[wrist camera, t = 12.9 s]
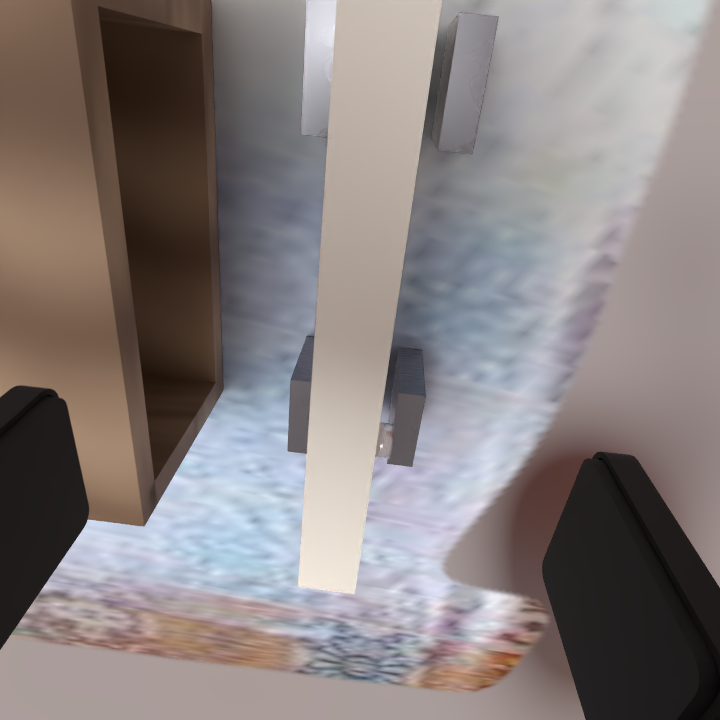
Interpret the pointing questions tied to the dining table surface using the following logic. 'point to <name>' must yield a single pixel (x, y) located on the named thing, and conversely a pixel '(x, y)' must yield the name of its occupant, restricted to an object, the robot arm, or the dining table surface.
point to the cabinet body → (112, 232)
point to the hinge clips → (450, 133)
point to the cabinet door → (361, 268)
